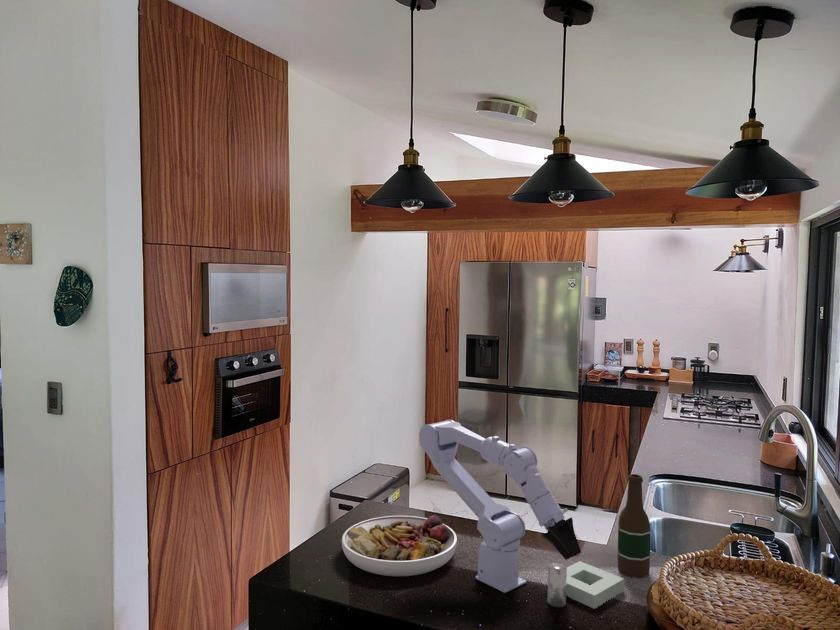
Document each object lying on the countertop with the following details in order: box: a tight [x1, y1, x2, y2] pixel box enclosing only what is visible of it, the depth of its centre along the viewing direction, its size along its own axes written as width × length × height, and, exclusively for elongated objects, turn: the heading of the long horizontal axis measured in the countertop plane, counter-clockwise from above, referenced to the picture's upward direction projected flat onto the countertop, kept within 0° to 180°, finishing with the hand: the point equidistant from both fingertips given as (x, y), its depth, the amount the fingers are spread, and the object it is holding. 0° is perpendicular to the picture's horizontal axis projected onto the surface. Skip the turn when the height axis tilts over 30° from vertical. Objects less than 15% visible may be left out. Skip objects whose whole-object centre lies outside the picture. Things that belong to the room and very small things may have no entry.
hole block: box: [566, 560, 625, 610], centre depth 142 cm, size 12×12×3 cm
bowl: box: [341, 514, 458, 577], centre depth 161 cm, size 30×30×8 cm
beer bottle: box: [617, 473, 651, 579], centre depth 151 cm, size 8×8×24 cm
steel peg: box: [547, 562, 567, 608], centre depth 136 cm, size 4×4×8 cm
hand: (573, 556), depth 132 cm, fingers open, 7 cm apart
